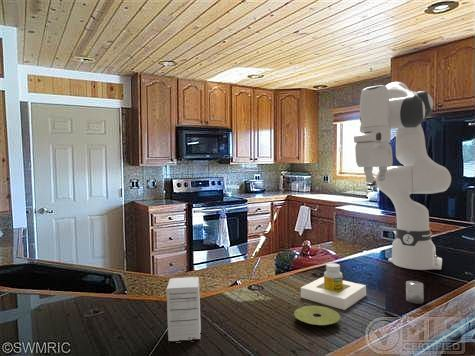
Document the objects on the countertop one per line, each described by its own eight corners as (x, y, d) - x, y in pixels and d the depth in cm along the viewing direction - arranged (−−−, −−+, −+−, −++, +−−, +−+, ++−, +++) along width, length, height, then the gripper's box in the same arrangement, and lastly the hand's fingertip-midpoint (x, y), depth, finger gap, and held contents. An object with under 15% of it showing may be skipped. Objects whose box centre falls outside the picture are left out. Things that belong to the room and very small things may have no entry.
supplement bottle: (332, 291, 102) (332, 261, 102) (346, 297, 98) (346, 265, 98) (320, 295, 99) (320, 264, 99) (334, 301, 95) (334, 268, 95)
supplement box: (171, 328, 81) (169, 277, 81) (201, 326, 82) (199, 276, 82) (167, 343, 74) (165, 288, 74) (200, 341, 74) (198, 286, 74)
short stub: (409, 296, 97) (408, 279, 97) (425, 300, 94) (425, 282, 94) (404, 300, 94) (403, 283, 94) (421, 304, 91) (420, 286, 91)
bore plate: (324, 285, 109) (324, 276, 109) (366, 295, 99) (366, 285, 99) (300, 297, 99) (300, 287, 99) (344, 310, 89) (344, 299, 89)
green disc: (286, 316, 86) (286, 309, 86) (322, 309, 90) (322, 302, 90) (310, 336, 75) (310, 328, 75) (350, 327, 79) (350, 319, 79)
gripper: (377, 140, 112) (378, 180, 112) (351, 136, 97) (352, 182, 98) (397, 138, 108) (398, 180, 108) (372, 134, 93) (373, 182, 93)
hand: (376, 181), depth 103 cm, fingers open, 8 cm apart
